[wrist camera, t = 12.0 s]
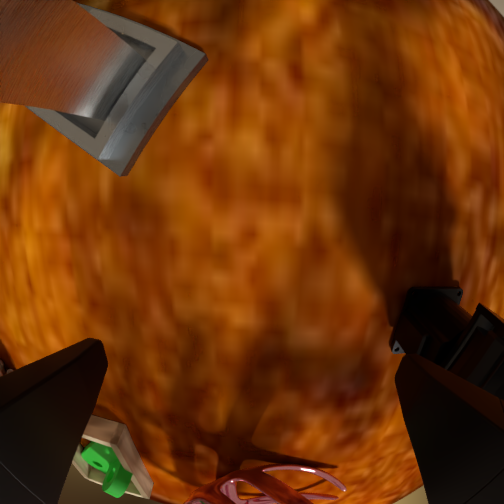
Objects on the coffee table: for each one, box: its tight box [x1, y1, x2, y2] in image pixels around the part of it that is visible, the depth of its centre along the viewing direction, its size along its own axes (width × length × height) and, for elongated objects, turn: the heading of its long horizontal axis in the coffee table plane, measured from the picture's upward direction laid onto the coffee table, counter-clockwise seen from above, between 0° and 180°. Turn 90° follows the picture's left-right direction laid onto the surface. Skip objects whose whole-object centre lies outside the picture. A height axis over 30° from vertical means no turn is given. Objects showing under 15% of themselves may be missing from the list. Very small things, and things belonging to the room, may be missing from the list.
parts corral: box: [72, 415, 154, 499], centre depth 27 cm, size 12×18×4 cm, turn 177°
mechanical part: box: [81, 441, 133, 498], centre depth 26 cm, size 12×6×8 cm, turn 138°
